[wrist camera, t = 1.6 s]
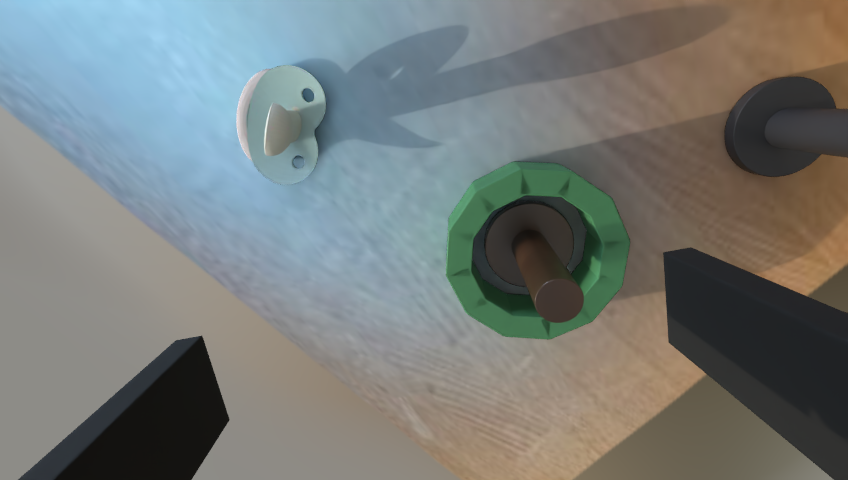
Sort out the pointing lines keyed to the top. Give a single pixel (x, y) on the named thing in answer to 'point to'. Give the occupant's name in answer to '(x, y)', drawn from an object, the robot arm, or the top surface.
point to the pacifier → (280, 122)
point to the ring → (593, 274)
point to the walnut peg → (536, 257)
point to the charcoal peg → (785, 127)
